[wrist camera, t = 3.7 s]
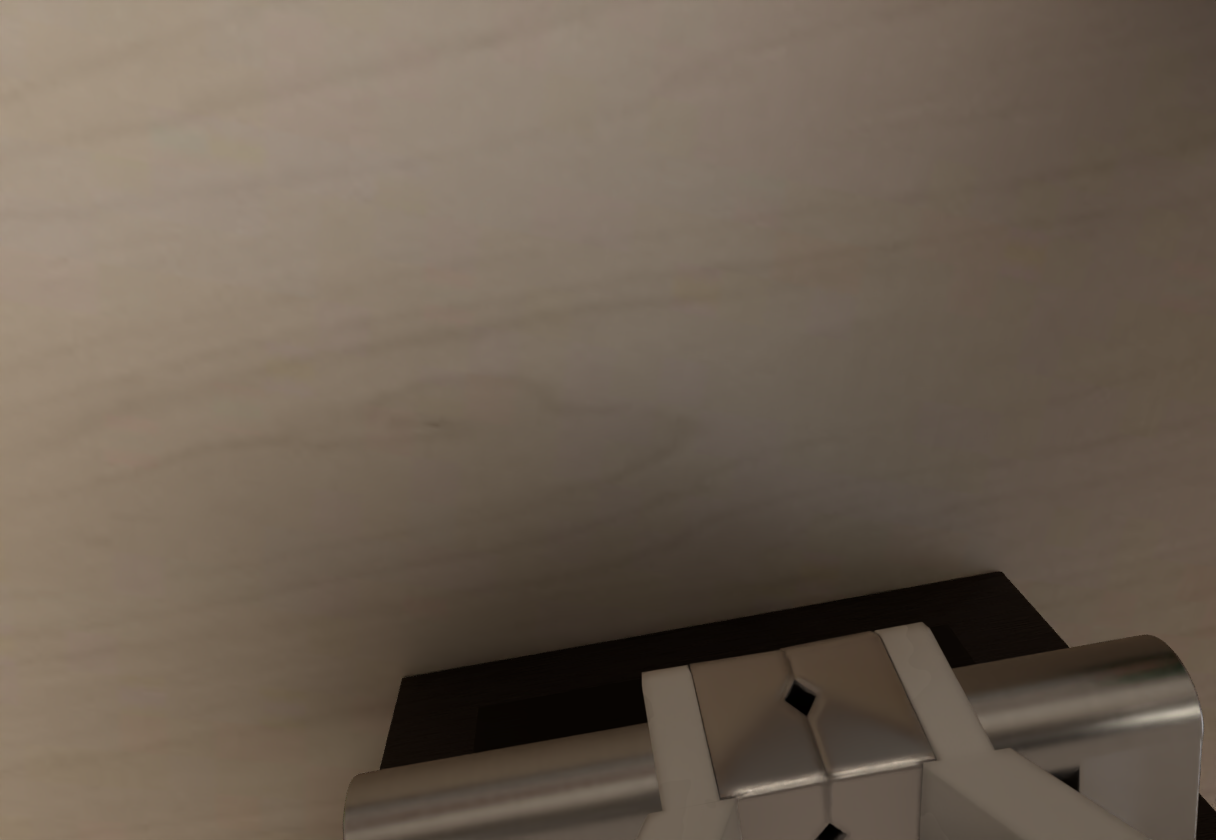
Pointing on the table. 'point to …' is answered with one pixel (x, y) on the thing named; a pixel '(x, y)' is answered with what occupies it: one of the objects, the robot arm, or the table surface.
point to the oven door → (612, 671)
